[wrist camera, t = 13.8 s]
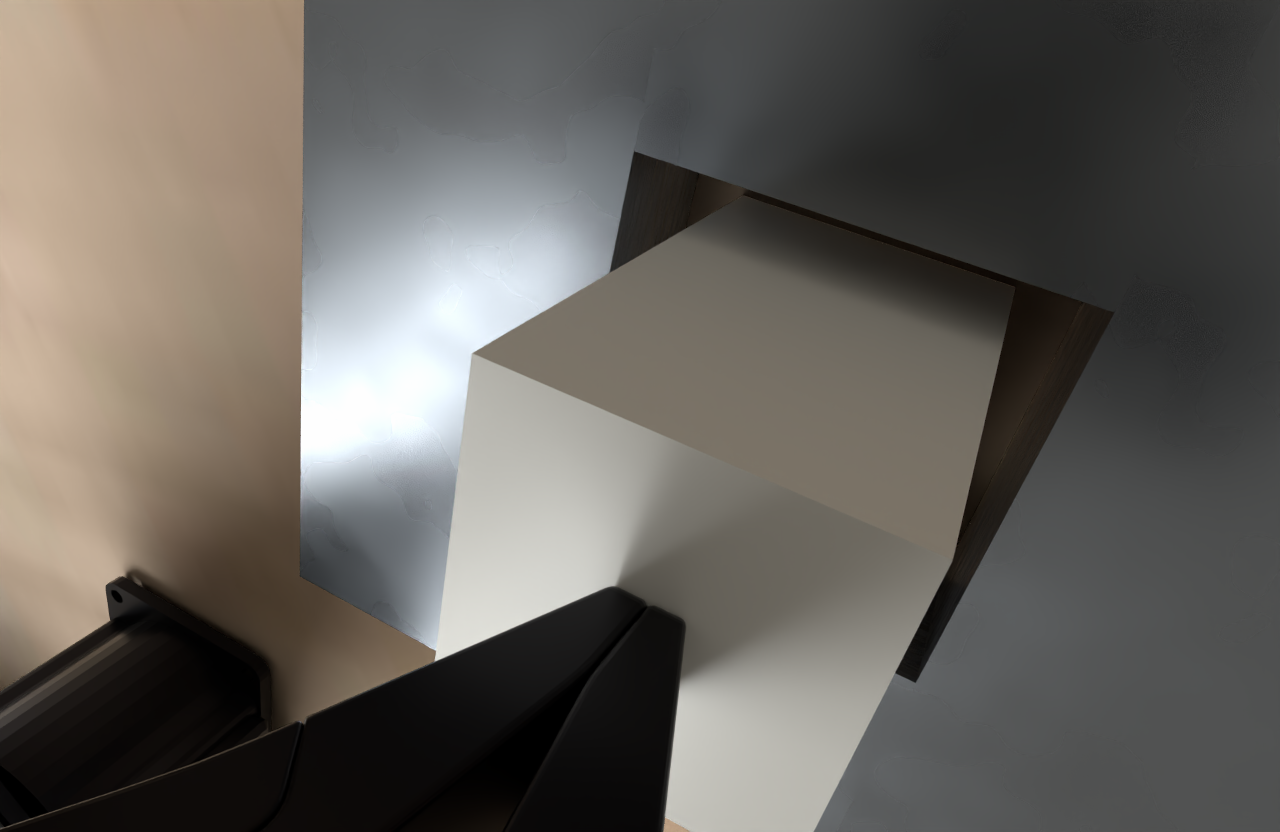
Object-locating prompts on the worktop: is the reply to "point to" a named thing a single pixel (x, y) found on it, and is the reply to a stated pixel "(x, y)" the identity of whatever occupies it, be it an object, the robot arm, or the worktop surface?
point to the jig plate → (904, 210)
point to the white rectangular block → (736, 483)
